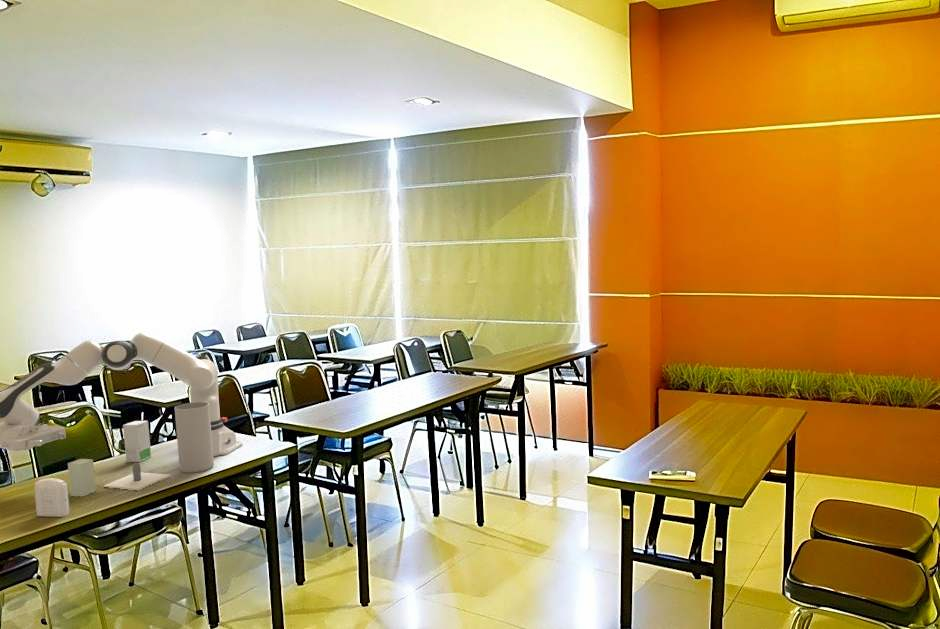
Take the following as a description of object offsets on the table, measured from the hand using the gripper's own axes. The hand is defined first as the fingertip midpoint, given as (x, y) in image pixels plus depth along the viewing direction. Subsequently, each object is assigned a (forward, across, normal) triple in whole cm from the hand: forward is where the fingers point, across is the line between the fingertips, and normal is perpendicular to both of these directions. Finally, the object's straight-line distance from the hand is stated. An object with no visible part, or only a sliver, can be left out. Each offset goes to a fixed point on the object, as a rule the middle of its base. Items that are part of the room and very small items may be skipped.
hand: (52, 439), depth 262 cm
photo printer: (+20, -19, +19) cm, 34 cm away
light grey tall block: (+12, 0, +19) cm, 23 cm away
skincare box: (-1, +39, +19) cm, 44 cm away
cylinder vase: (+33, +34, +19) cm, 51 cm away
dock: (+22, +15, +19) cm, 33 cm away
